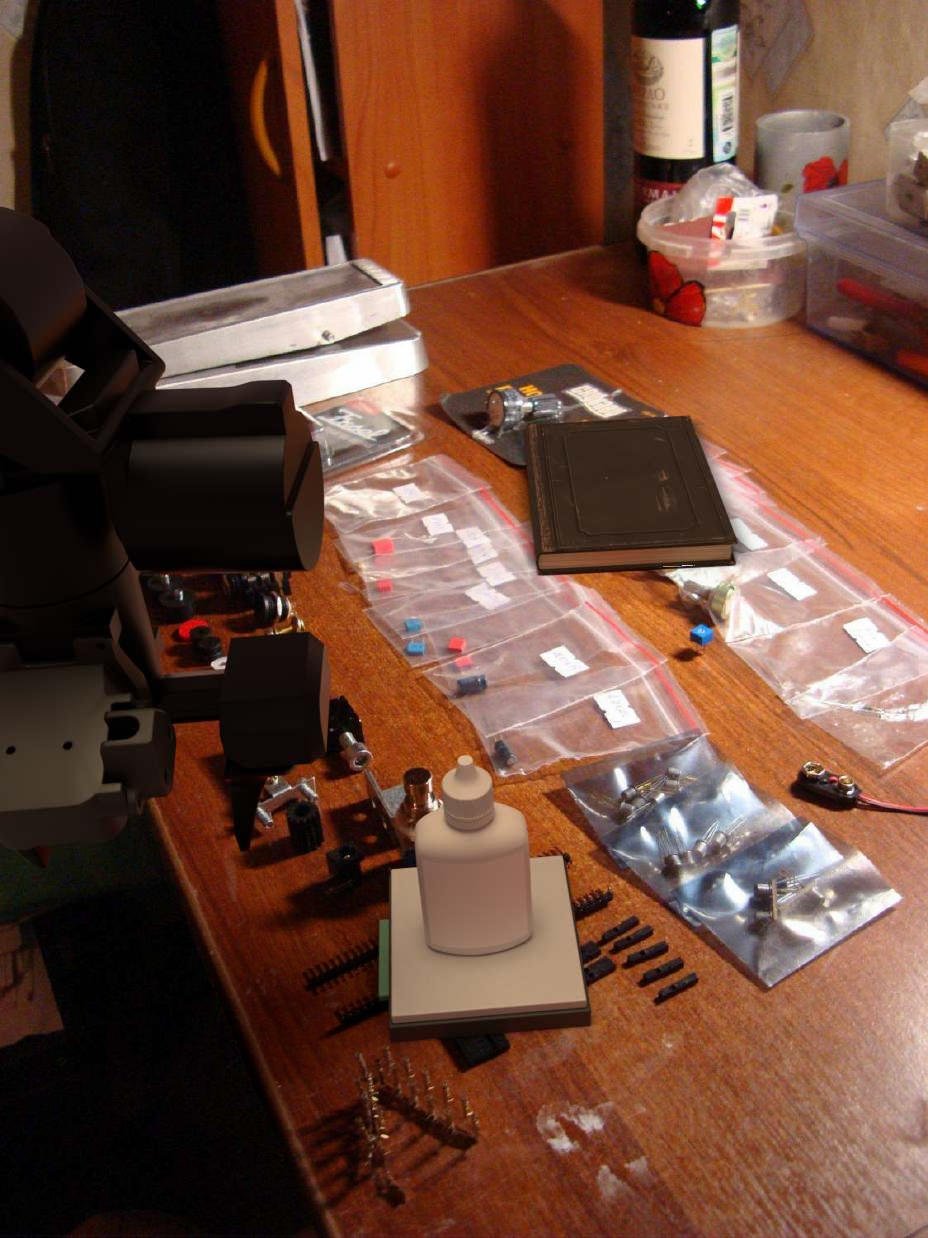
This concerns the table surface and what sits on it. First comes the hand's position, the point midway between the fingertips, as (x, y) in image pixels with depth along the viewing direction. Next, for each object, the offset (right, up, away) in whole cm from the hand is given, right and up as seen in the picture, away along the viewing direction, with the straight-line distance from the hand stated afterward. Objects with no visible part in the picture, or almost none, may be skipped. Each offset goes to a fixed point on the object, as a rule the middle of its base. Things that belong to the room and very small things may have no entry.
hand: (145, 853), depth 52 cm
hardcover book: (+28, +21, +50) cm, 61 cm away
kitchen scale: (+16, -8, +9) cm, 20 cm away
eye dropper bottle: (+15, -6, +8) cm, 18 cm away
